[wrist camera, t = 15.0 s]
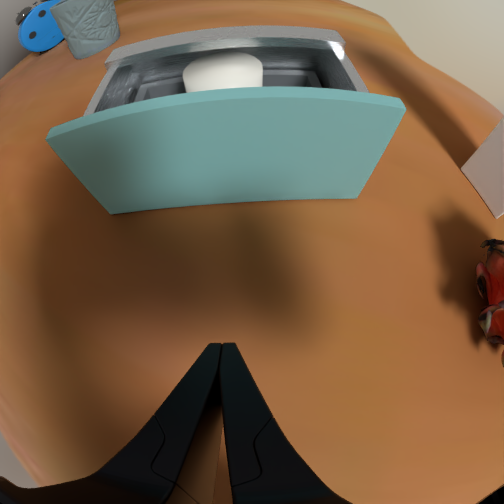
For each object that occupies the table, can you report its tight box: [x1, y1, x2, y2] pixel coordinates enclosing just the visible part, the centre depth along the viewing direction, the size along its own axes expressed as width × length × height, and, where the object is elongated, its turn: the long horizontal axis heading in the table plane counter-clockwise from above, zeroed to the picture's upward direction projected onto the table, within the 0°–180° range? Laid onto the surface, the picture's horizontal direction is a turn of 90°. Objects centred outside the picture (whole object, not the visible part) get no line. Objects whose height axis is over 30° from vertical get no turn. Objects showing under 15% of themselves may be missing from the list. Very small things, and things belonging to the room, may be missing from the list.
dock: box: [83, 26, 369, 116], centre depth 16 cm, size 11×17×7 cm, turn 93°
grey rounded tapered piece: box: [183, 52, 263, 93], centre depth 17 cm, size 5×5×4 cm
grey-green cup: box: [50, 0, 120, 59], centre depth 23 cm, size 10×10×12 cm
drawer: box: [45, 70, 406, 214], centre depth 15 cm, size 11×17×8 cm, turn 93°
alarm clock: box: [15, 0, 64, 53], centre depth 27 cm, size 13×6×15 cm, turn 138°
